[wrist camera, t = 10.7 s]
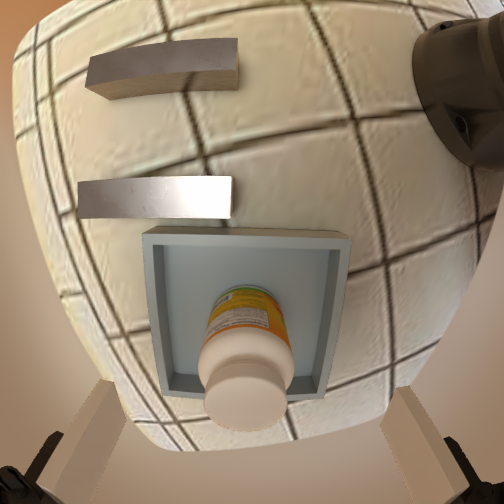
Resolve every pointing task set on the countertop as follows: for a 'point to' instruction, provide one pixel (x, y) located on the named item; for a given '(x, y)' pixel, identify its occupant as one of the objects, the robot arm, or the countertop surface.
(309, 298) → the grey tray
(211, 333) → the supplement bottle
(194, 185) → the steel jaws
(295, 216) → the countertop surface
